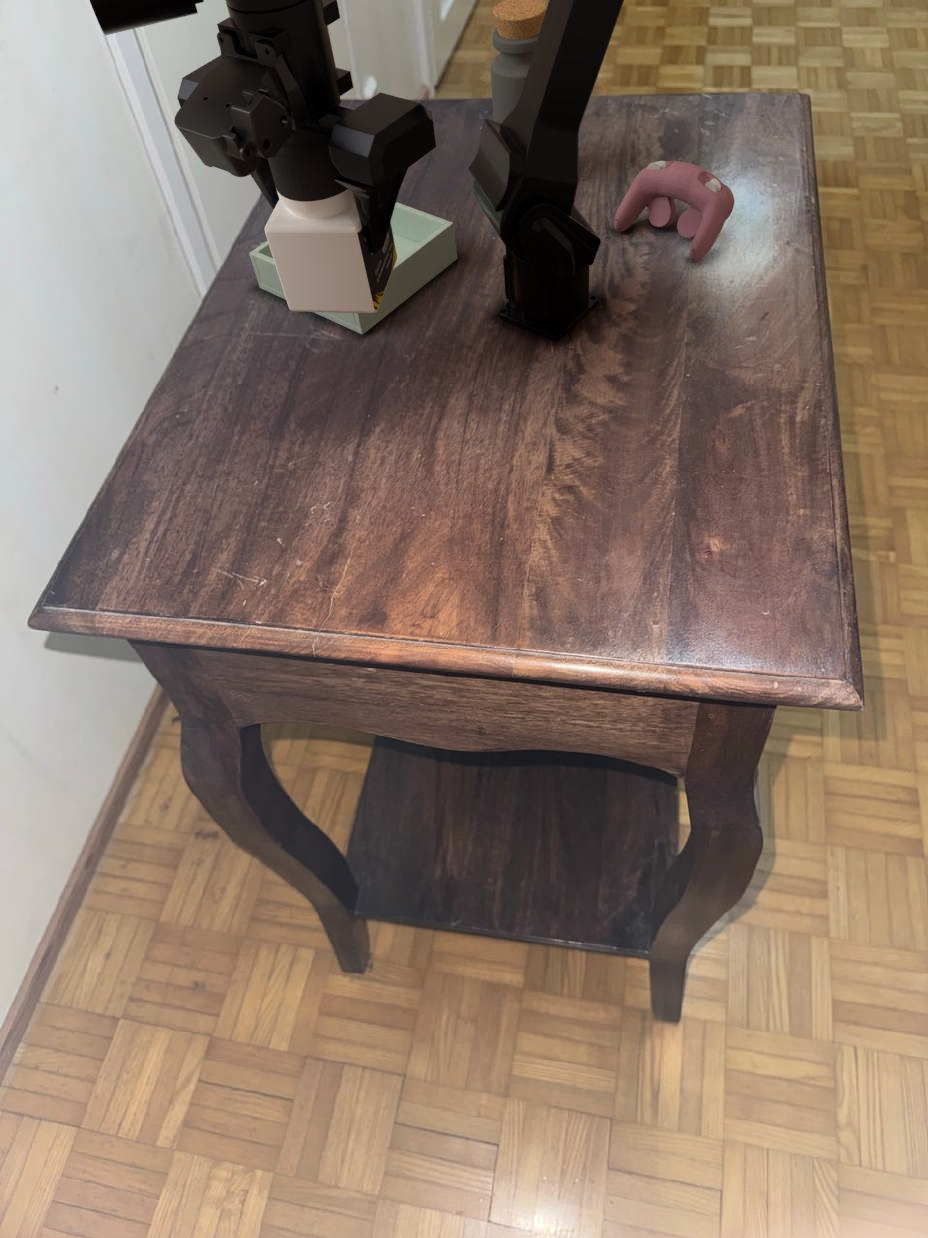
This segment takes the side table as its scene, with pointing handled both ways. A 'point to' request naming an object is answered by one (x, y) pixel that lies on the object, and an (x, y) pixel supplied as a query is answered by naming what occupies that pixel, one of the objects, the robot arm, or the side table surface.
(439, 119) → the side table surface
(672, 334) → the side table surface
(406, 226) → the tray
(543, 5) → the bottle
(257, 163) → the robot arm
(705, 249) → the video game controller
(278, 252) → the medicine bottle
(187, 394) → the side table surface
